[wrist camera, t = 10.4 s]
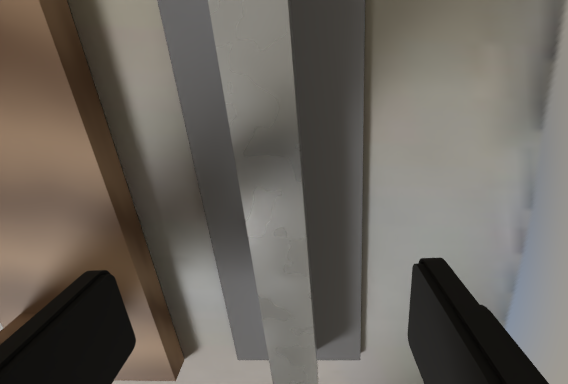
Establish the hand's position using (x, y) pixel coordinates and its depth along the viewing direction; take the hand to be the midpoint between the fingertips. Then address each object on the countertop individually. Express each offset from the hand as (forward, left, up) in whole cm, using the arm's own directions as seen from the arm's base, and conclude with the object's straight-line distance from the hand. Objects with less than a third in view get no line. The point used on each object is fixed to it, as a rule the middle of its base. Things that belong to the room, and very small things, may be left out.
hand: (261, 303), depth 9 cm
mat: (+1, 0, -7) cm, 7 cm away
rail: (+1, 0, -6) cm, 6 cm away
